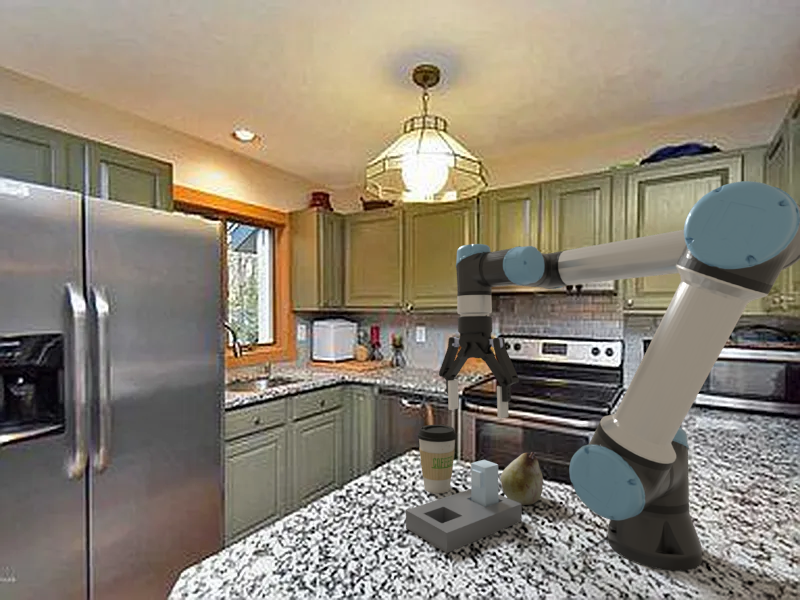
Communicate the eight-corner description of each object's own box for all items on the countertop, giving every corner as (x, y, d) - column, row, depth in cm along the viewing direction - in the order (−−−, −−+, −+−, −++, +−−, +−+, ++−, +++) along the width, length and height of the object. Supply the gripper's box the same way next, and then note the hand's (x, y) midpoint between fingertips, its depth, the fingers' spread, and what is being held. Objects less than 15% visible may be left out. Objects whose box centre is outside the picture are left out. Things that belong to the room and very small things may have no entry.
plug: (498, 517, 95) (498, 464, 95) (482, 523, 92) (482, 469, 92) (484, 510, 98) (484, 459, 98) (468, 516, 95) (468, 463, 96)
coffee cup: (455, 499, 105) (455, 434, 106) (414, 496, 107) (414, 432, 108) (458, 484, 115) (458, 425, 115) (420, 481, 117) (420, 423, 117)
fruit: (540, 514, 98) (539, 458, 98) (497, 507, 101) (496, 453, 102) (545, 496, 107) (544, 445, 107) (505, 490, 111) (504, 441, 111)
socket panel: (521, 523, 93) (521, 503, 93) (446, 555, 80) (446, 532, 81) (478, 504, 103) (478, 486, 103) (405, 530, 90) (405, 510, 90)
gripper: (534, 313, 92) (537, 418, 91) (444, 316, 111) (446, 403, 110) (512, 313, 87) (516, 424, 86) (423, 316, 106) (424, 407, 105)
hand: (477, 413), depth 98 cm, fingers open, 13 cm apart
